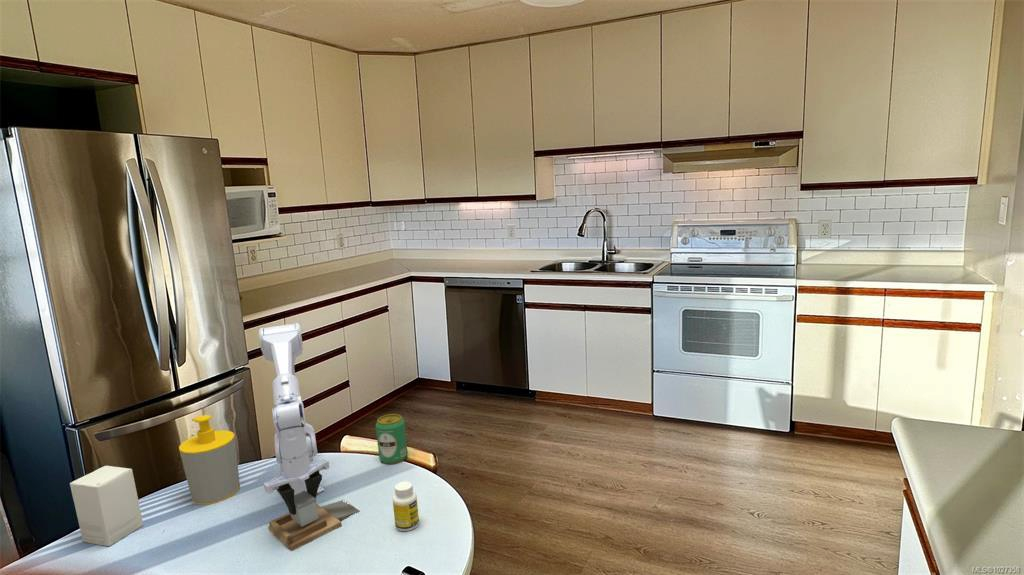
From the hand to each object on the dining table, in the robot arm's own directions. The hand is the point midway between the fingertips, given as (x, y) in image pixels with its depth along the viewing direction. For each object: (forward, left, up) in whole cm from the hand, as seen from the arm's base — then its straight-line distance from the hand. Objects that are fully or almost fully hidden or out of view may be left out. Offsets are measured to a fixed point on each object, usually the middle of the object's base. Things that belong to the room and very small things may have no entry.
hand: (302, 508), depth 133 cm
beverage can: (-13, +33, -5) cm, 36 cm away
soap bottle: (-35, -8, -5) cm, 36 cm away
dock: (0, +3, -5) cm, 6 cm away
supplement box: (-35, -31, -5) cm, 47 cm away
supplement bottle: (+18, +16, -5) cm, 25 cm away
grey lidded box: (0, 0, -2) cm, 2 cm away
